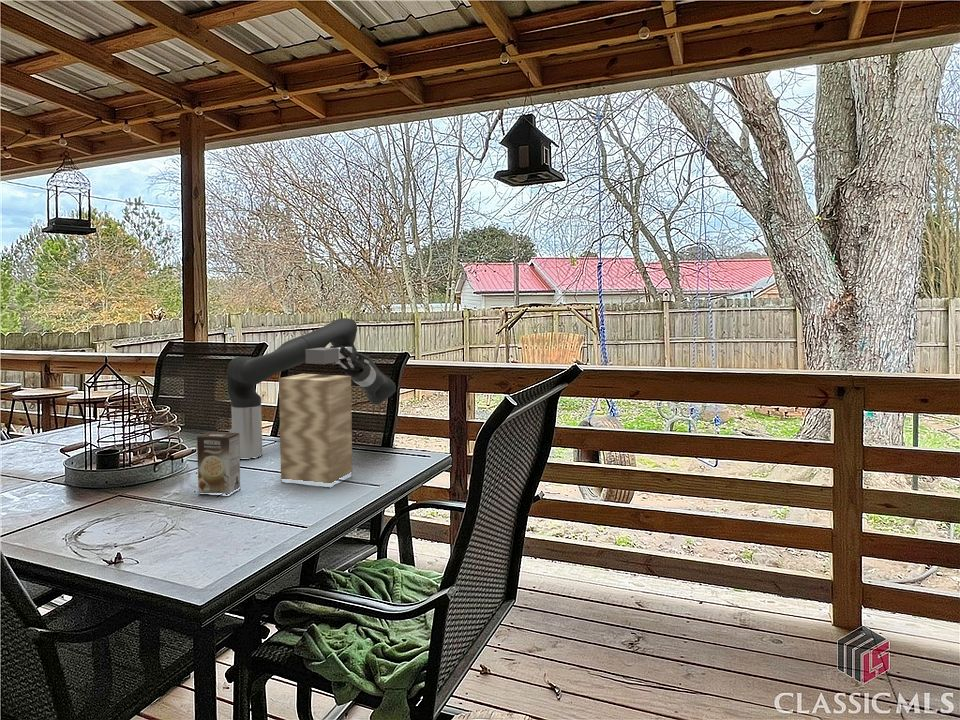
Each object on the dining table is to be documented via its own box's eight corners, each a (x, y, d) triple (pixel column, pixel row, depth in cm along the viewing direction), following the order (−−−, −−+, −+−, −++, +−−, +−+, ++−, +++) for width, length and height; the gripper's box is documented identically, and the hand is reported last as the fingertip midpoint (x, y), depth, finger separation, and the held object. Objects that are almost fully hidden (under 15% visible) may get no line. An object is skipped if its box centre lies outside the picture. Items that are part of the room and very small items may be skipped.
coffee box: (197, 495, 161) (194, 436, 159) (210, 488, 167) (208, 431, 166) (230, 497, 160) (228, 437, 159) (241, 489, 166) (240, 432, 165)
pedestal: (281, 482, 173) (278, 378, 170) (305, 471, 184) (303, 373, 182) (330, 488, 168) (328, 380, 165) (352, 476, 180) (351, 376, 177)
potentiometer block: (305, 363, 174) (305, 349, 173) (339, 357, 191) (339, 345, 191) (324, 364, 172) (323, 350, 172) (356, 358, 190) (356, 345, 189)
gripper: (344, 360, 202) (319, 337, 187) (382, 362, 198) (359, 338, 183) (338, 381, 199) (312, 359, 184) (377, 383, 195) (353, 360, 180)
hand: (336, 348), depth 184 cm, fingers closed on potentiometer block, 3 cm apart
